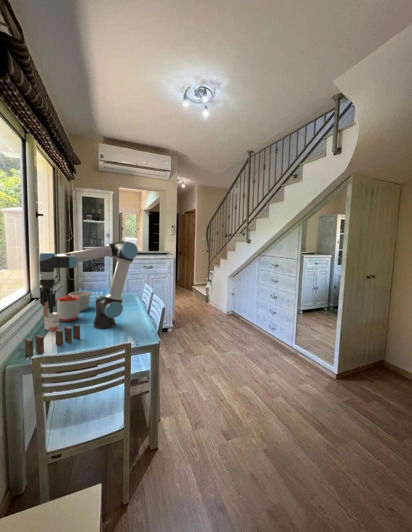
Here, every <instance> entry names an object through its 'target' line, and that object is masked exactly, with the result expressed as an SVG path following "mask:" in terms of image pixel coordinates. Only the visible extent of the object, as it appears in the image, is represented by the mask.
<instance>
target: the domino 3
mask: <svg viewBox="0 0 412 532" xmlns="http://www.w3.org/2000/svg"><path fill="white" fill-rule="evenodd" d="M47 307H49V306H48V302H44V315H45V316H44V317H46V318H48V308H47ZM44 317H43V318H44Z"/></svg>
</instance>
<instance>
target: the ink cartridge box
mask: <svg viewBox="0 0 412 532" xmlns="http://www.w3.org/2000/svg"><path fill="white" fill-rule="evenodd" d="M43 319H44V330H45V329H46V331H50V332H55V330H57V329H59V330H60V319H59V313H58V312H54V311H53V318H49V319H48V318H46V317H43Z"/></svg>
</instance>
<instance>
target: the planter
mask: <svg viewBox="0 0 412 532" xmlns="http://www.w3.org/2000/svg"><path fill="white" fill-rule="evenodd" d="M67 295H70V296H71V297H72V298H73V297H74V296H77V297H79V312H82V311H81V310H84V311H86V310H87V309H88V308H90V307H89V306H90V300H91V299H90V298H91V297H90V295H91V292H89V291H83V290H82V291H81V290H80V291H72V292H70V293H68V294H67ZM85 309H86V310H85Z"/></svg>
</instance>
